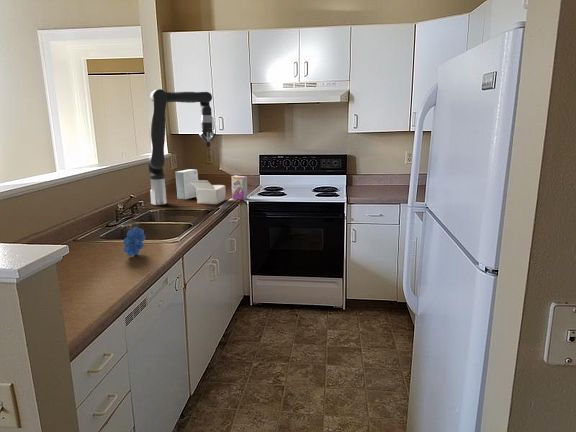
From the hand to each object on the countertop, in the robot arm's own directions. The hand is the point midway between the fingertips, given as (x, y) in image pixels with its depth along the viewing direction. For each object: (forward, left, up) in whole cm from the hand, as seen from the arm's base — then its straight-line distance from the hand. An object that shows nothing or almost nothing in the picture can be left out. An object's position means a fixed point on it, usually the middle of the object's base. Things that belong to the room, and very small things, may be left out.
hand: (208, 147), depth 294 cm
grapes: (-101, -78, -37) cm, 133 cm away
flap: (-13, -13, -27) cm, 33 cm away
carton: (-6, -9, -37) cm, 39 cm away
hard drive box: (-7, +17, -37) cm, 42 cm away
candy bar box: (+14, -16, -37) cm, 43 cm away
